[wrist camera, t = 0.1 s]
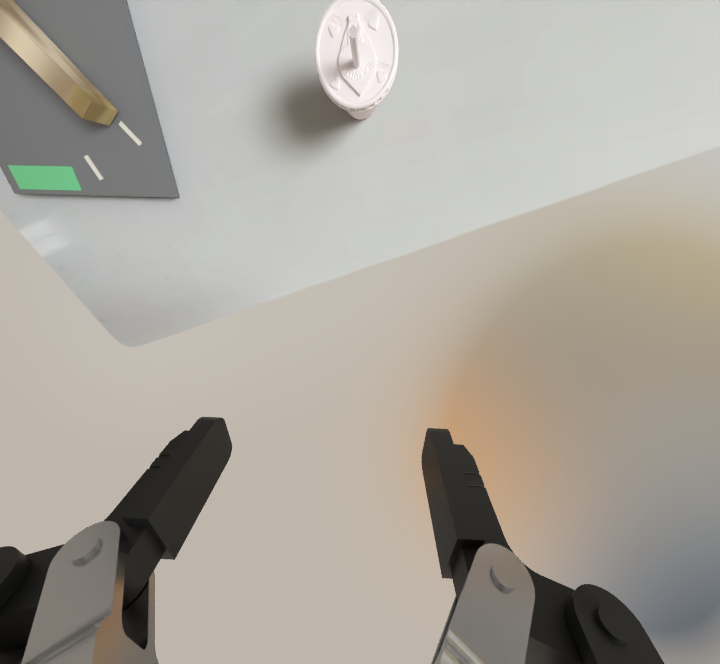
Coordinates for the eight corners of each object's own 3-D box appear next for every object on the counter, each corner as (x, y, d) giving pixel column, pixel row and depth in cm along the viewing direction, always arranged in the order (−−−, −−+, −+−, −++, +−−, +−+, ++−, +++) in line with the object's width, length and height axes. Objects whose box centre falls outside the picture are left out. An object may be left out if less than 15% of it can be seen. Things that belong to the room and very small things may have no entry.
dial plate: (-131, -121, 22) (-165, -142, 21) (93, -123, 22) (74, -145, 20) (29, 193, 34) (13, 193, 32) (179, 197, 33) (171, 197, 32)
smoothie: (336, 138, 30) (310, 96, 17) (326, 62, 27) (287, -55, 14) (392, 130, 29) (407, 81, 17) (388, 51, 26) (404, -81, 14)
